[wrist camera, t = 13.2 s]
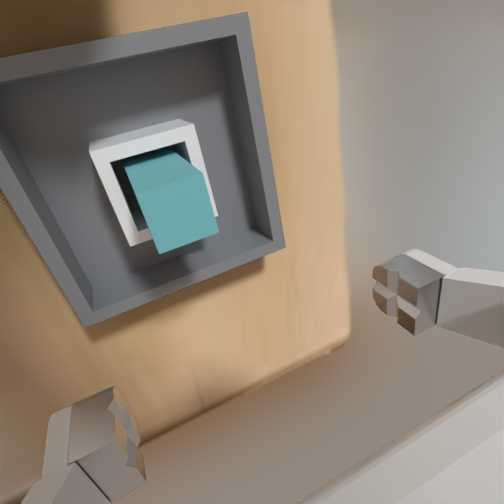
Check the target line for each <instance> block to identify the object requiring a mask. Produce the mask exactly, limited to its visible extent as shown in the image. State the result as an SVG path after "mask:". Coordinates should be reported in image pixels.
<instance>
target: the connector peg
mask: <svg viewBox="0 0 504 504" xmlns="http://www.w3.org/2000/svg"><path fill="white" fill-rule="evenodd" d="M121 161H122V163H123V166H124V168H125V171H126V173H127V176H128V178H129V181H130V184H131V186H132V189H133V191H134V194H135V196H136V199H137V201H138V204H139V206H140V209H141V211H142V213H143V216H144V218H145V221H146V223H147V226H148V228H149V231H150V233H151V235H152V238H153V240H154V243H155V245H156V248H157V250H158V252H159V254H162V253H164V252H167V251H170V250H173V249H175V248H178V247H181V246H183V245H186V244H189V243H191V242H194V241H197V240H200V239H202V238H205V237H208V236H210V235H213V234H216V233H219V230H218V226H217V223H216V219H215V215H214V212H213V208H212V205H211V201H210V197H209V194H208V190H207V186H206V183H205V179H204V175H203V173H202V172H201V171H200V170H198V169H197V168H196V167H194V166H193V165H192V164H190V163H189V162H188V161H186V160H185V159H184V158H182V157H181V156H180V155H178V154H177V153H176V152H174V151H173V150H172V149H170V148H169V147H168V146H165V147H162V148H158V149H155V150H151V151H148V152H144V153H141V154H137V155H133V156H130V157H126V158H123V159H121Z"/></svg>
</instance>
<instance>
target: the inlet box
mask: <svg viewBox="0 0 504 504" xmlns="http://www.w3.org/2000/svg"><path fill="white" fill-rule="evenodd" d="M165 146H168V147H169V148H170V149H172V150H173V151H174V152H176V153H177V154H178V155H180V156H181V157H182V158H184V159H185V160H186V161H188V162H189V163H190V164H192V165H193V166H194V167H196V168H197V169H198V170H200V171H201V172H202V173H203V175H204V179H205V183H206V186H207V190H208V194H209V197H210V201H211V205H212V208H213V212H214V215H215V219H216V223H217V226H218V230H219V233H216V234H213V235H210V236H208V237H205V238H202V239H200V240H197V241H194V242H191V243H189V244H186V245H183V246H181V247H178V248H175V249H173V250H170V251H167V252H164V253H162V254H159V252H158V250H157V248H156V245H155V243H154V240H153V238H152V235H151V233H150V231H149V228H148V226H147V223H146V221H145V218H144V216H143V213H142V211H141V209H140V206H139V204H138V201H137V199H136V196H135V194H134V191H133V189H132V186H131V184H130V181H129V178H128V176H127V173H126V171H125V168H124V166H123V163H122V161H121V159H123V158H126V157H130V156H133V155H137V154H141V153H144V152H148V151H151V150H155V149H158V148H162V147H165ZM0 188H1V190H2V192H3V193H4V195H5V197H6V198H7V200H8V202H9V203H10V205H11V207H12V208H13V210H14V212H15V213H16V215H17V217H18V218H19V220H20V222H21V223H22V225H23V227H24V228H25V230H26V232H27V233H28V235H29V237H30V238H31V240H32V241H33V243H34V245H35V246H36V248H37V250H38V251H39V253H40V255H41V256H42V258H43V260H44V261H45V263H46V265H47V266H48V268H49V270H50V271H51V273H52V275H53V276H54V278H55V280H56V281H57V283H58V285H59V286H60V288H61V290H62V291H63V293H64V295H65V296H66V298H67V300H68V301H69V303H70V305H71V306H72V308H73V310H74V311H75V313H76V315H77V316H78V318H79V320H80V321H81V323H82V325H83V326H84V328H86V327H89V326H91V325H94V324H96V323H99V322H101V321H104V320H106V319H109V318H111V317H114V316H116V315H119V314H121V313H124V312H126V311H128V310H131V309H133V308H136V307H138V306H141V305H143V304H146V303H148V302H151V301H153V300H156V299H158V298H161V297H163V296H166V295H168V294H171V293H173V292H176V291H178V290H181V289H183V288H186V287H188V286H191V285H193V284H196V283H198V282H201V281H203V280H206V279H208V278H211V277H213V276H216V275H218V274H221V273H223V272H226V271H228V270H231V269H233V268H236V267H238V266H241V265H243V264H245V263H248V262H250V261H253V260H255V259H258V258H260V257H263V256H265V255H268V254H270V253H273V252H275V251H278V250H280V249H283V248H285V241H284V234H283V228H282V222H281V216H280V210H279V203H278V197H277V191H276V185H275V178H274V172H273V166H272V160H271V154H270V147H269V141H268V135H267V129H266V123H265V116H264V110H263V104H262V98H261V92H260V85H259V79H258V73H257V67H256V61H255V54H254V48H253V42H252V36H251V30H250V23H249V17H248V12H244V13H239V14H234V15H228V16H223V17H217V18H212V19H207V20H201V21H196V22H190V23H185V24H180V25H174V26H169V27H163V28H158V29H153V30H147V31H142V32H136V33H131V34H126V35H120V36H115V37H109V38H104V39H99V40H93V41H88V42H82V43H77V44H72V45H66V46H61V47H55V48H50V49H45V50H39V51H34V52H28V53H23V54H18V55H12V56H7V57H2V58H0Z"/></svg>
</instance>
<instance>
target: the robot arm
mask: <svg viewBox="0 0 504 504" xmlns="http://www.w3.org/2000/svg"><path fill="white" fill-rule="evenodd" d="M373 279H375V280H376V283H375V285H374V287H373V298H374V300H375V303H376V305H377V306H378V307H379V308H380V309H381V311H383V312H384V313H385V314H386V315H390V316H395V317H396V319H397V323H398V324H400V325H401V326H402V327H403V328H405V329H406V330H407V331H409V332H410V333H411V334H413V335H414V336H415V335H417V334H419V333H421V332H423V331H425V330H427V329H429V328H431V327H433V326H435V325H437V326H438V327H441V328H444V329H447V330H450V331H454V332H456V333H460V334H463V335H466V336H469V337H472V338H475V339H478V340H481V341H485V342H488V343H491V344H494V345H497V346H500V347H503V348H504V272H496V271H488V270H480V269H471V268H461V269H458V268H456V267H454V266H452V265H450V264H448V263H445V262H443V261H441V260H439V259H437V258H435V257H433V256H431V255H429V254H427V253H425V252H423V251H421V250H419V249H411V250H408V251H406V252H404V253H402V254H400V255H399V256H396V257H394V258H392V259H390V260H388V261H385V262H383V263H381V264H379V265H377V266H375V267H374V269H373ZM140 441H141V439H140V433H139V428H138V425H137V421H136V418H135V416H134V414H133V411H132V410H131V408H130V406H129V405H126V404H123V397H122V393H121V392H120V391H119V389H118V388H117V387H116V386H113V387H111V388H109V389H106V390H104V391H102V392H99V393H97V394H95V395H92V396H90V397H88V398H85V399H83V400H81V401H78V402H76V403H74V404H73V405H71V406H68V407H66V408H63V409H61V410H59V411H56V412H54V413H52V415H51V417H50V419H49V424H48V431H47V439H46V447H45V455H44V463H43V471H42V478H41V479H40V480H38V481H36V482H34V484H33V485H32V487H31V488H30V490H29V492H28V493H27V495H26V496H25V498H24V499H23V501H22V502H21V504H111V502H113V501H115V500H116V499H118V498H119V497H122V496H123V495H125V494H126V493H128V492H130V491H132V490H134V489H135V488H137V487H139V486H141V485H142V484H144V483H146V475H145V468H144V461H143V456H142V454H141V453H140V451H139V450H138V448H137V447H138V445H139V443H140ZM293 504H504V370H502V371H501V372H499V373H498V374H496V375H494V376H493V377H491V378H490V379H488V380H487V381H485V382H483V383H482V384H480V385H479V386H477V387H476V388H474V389H473V390H471V391H469V392H468V393H466V394H465V395H463V396H461V397H460V398H458V399H457V400H455V401H454V402H452V403H450V404H449V405H447V406H446V407H444V408H443V409H441V410H439V411H438V412H436V413H435V414H433V415H432V416H430V417H428V418H427V419H425V420H424V421H422V422H421V423H419V424H417V425H416V426H414V427H413V428H411V429H410V430H408V431H406V432H405V433H403V434H402V435H400V436H399V437H397V438H395V439H394V440H392V441H391V442H389V443H388V444H386V445H384V446H383V447H381V448H380V449H378V450H377V451H375V452H373V453H372V454H371V455H369V456H367V457H366V458H364V459H363V460H361V461H359V462H358V463H356V464H355V465H353V466H351V467H350V468H348V469H347V470H345V471H344V472H342V473H341V474H339V475H337V476H336V477H335V478H333V479H331V480H330V481H328V482H326V483H325V484H323V485H322V486H320V487H319V488H317V489H315V490H314V491H312V492H311V493H309V494H308V495H306V496H304V497H303V498H301V499H300V500H298V501H297V502H295V503H293Z"/></svg>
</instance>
